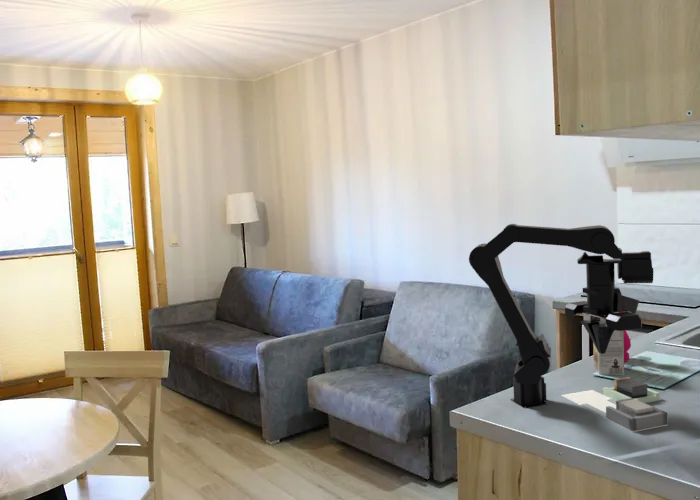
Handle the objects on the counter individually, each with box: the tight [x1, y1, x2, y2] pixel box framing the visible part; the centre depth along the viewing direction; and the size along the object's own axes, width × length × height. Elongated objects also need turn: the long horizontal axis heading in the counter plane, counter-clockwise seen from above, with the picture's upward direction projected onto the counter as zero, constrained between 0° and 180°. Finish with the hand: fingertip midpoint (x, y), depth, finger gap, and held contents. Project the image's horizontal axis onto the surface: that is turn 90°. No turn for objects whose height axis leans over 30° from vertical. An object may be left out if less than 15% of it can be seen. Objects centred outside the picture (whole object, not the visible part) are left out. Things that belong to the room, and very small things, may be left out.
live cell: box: [613, 376, 648, 399], centre depth 144 cm, size 4×6×4 cm, turn 16°
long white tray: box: [560, 389, 668, 433], centre depth 138 cm, size 9×24×3 cm, turn 16°
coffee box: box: [592, 312, 625, 376], centre depth 165 cm, size 9×6×16 cm
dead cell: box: [616, 398, 654, 417], centre depth 131 cm, size 4×6×4 cm, turn 16°
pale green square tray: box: [600, 386, 662, 404], centre depth 145 cm, size 9×9×2 cm
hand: (602, 353), depth 139 cm, fingers closed
